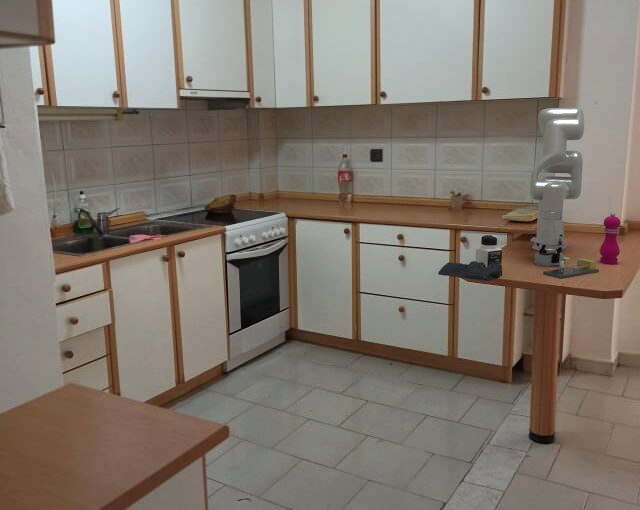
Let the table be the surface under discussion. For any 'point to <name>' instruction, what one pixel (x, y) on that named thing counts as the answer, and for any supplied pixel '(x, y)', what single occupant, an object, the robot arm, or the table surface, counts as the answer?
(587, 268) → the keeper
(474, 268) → the dark grey cloth
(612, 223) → the pepper mill
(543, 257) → the link
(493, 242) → the medicine bottle
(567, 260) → the block
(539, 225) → the robot arm
